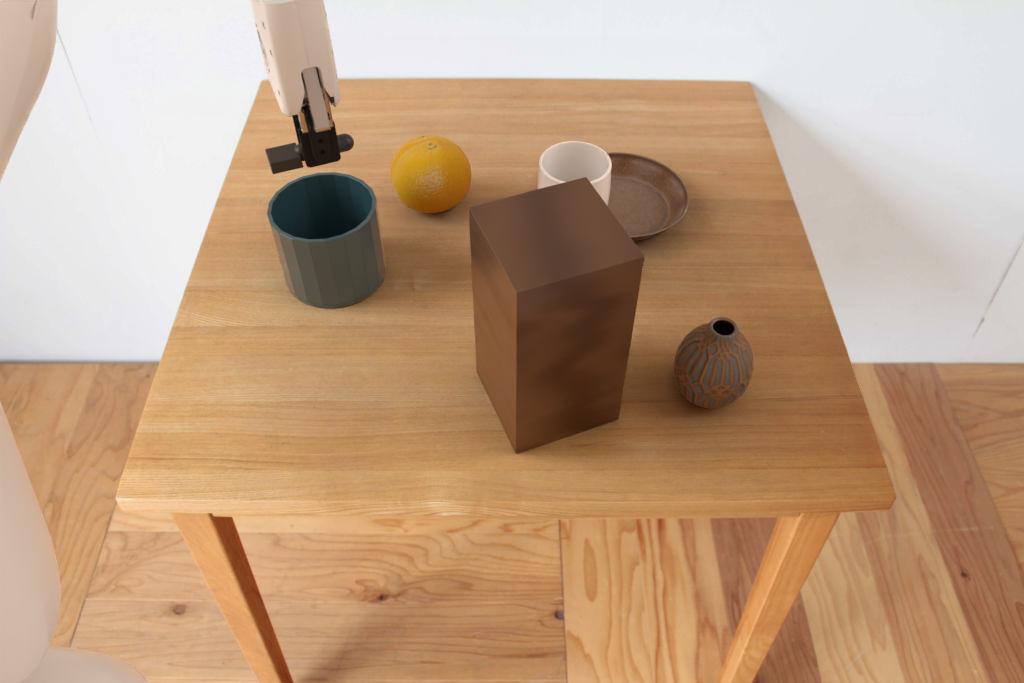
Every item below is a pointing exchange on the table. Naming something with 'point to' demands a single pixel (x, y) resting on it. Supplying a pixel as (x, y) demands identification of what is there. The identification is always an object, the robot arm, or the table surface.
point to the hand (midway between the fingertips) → (320, 154)
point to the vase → (713, 364)
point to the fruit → (430, 174)
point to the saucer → (645, 195)
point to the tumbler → (328, 239)
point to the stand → (552, 310)
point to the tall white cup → (576, 166)
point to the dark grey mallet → (298, 154)
